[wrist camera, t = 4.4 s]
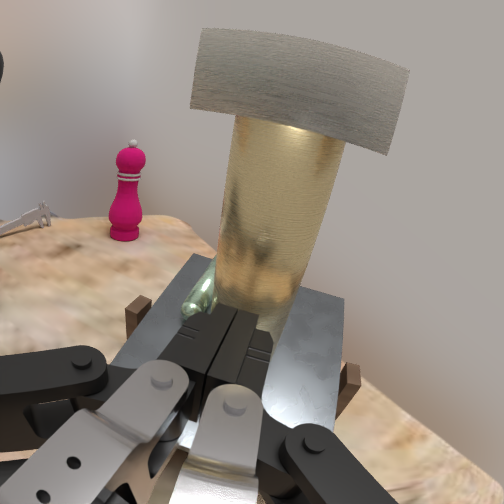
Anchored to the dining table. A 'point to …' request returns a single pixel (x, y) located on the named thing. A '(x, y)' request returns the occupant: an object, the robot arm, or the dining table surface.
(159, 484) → the dining table surface
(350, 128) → the brushed metal stamp
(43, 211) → the caliper
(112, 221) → the pepper mill
